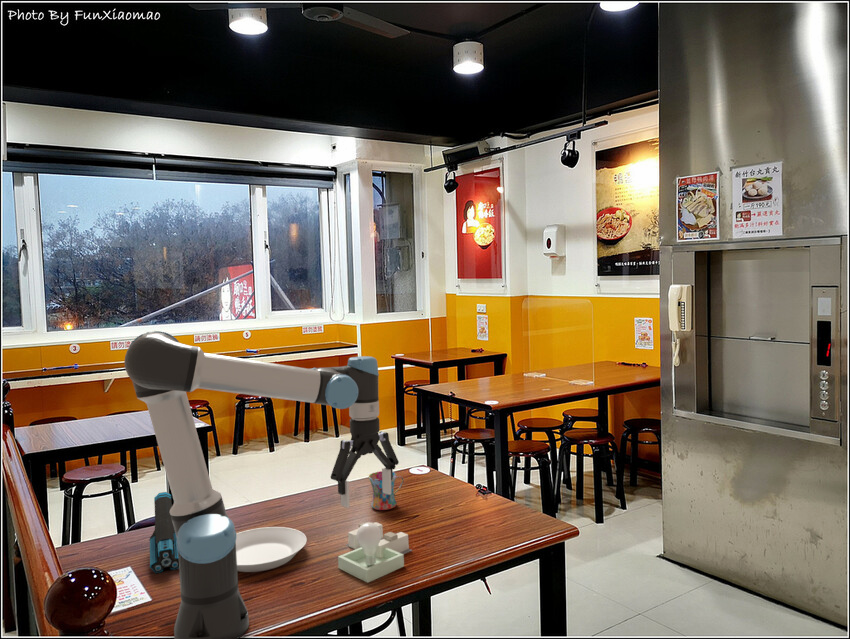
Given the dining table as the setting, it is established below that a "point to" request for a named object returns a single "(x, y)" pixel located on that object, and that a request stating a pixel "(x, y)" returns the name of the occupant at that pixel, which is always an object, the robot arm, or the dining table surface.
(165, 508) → the gun
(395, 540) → the holder
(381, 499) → the mug
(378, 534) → the lightbulb
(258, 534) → the bowl
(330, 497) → the dining table surface
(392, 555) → the tray
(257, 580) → the dining table surface
